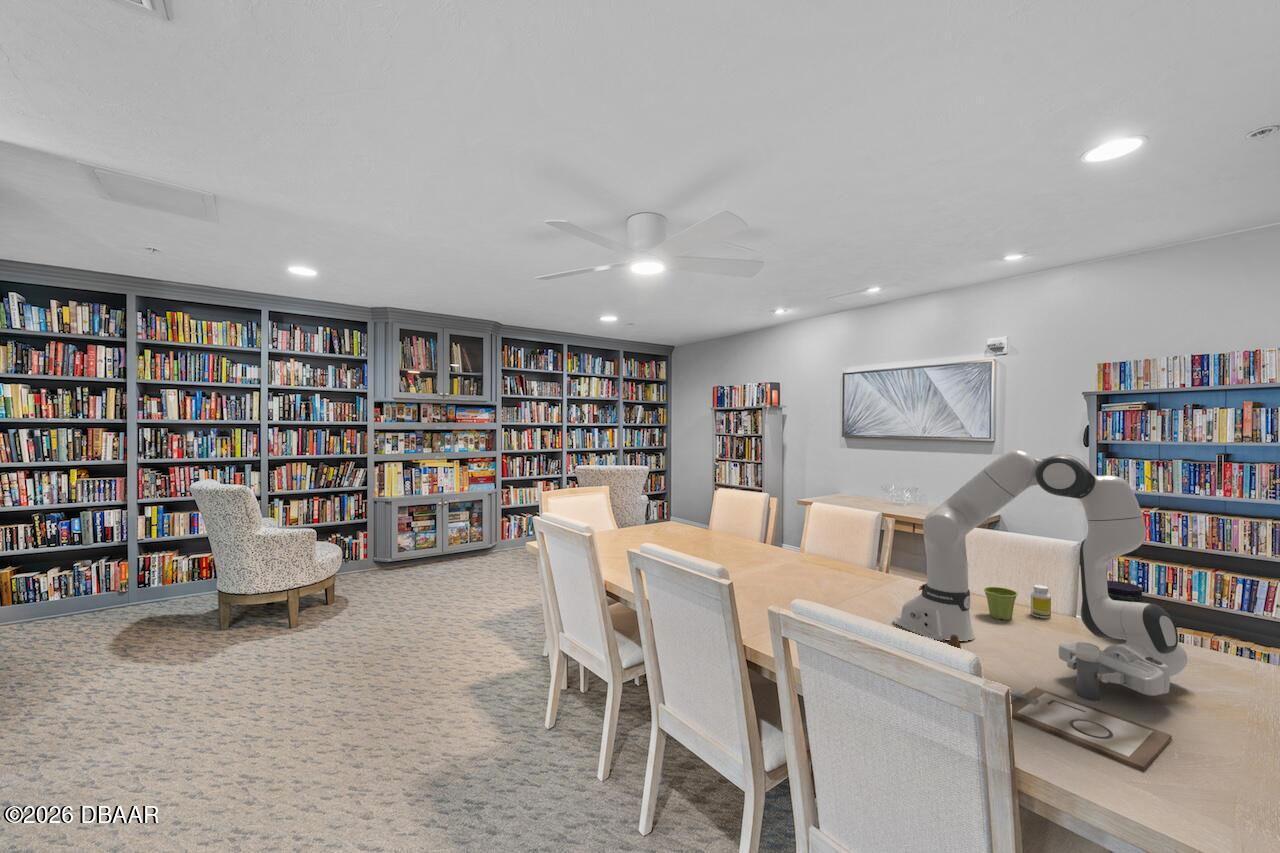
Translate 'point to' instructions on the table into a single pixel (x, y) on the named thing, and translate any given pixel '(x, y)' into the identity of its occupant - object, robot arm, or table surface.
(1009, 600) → the plant pot
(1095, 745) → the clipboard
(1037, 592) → the supplement bottle
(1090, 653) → the marker
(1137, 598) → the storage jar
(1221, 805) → the table surface
